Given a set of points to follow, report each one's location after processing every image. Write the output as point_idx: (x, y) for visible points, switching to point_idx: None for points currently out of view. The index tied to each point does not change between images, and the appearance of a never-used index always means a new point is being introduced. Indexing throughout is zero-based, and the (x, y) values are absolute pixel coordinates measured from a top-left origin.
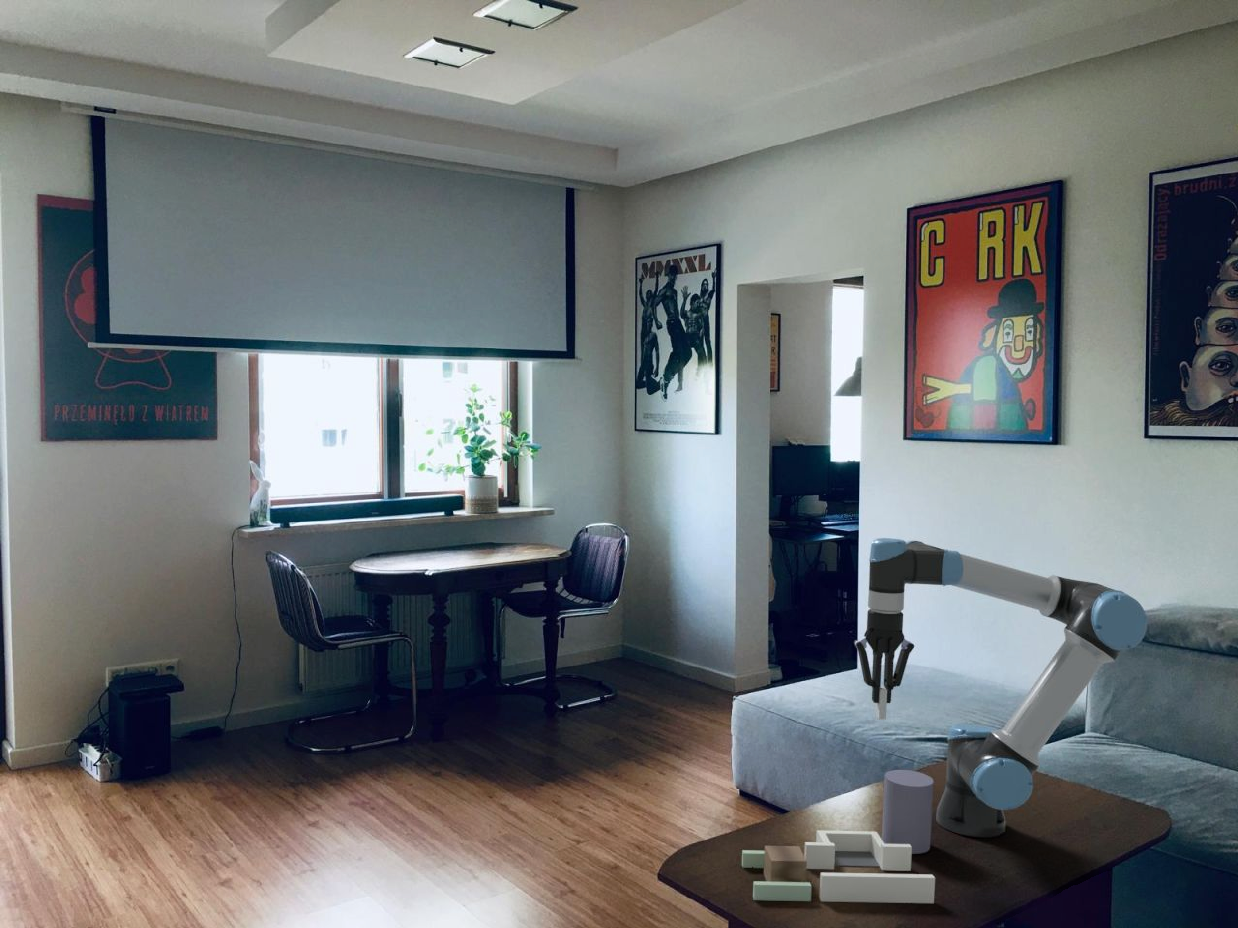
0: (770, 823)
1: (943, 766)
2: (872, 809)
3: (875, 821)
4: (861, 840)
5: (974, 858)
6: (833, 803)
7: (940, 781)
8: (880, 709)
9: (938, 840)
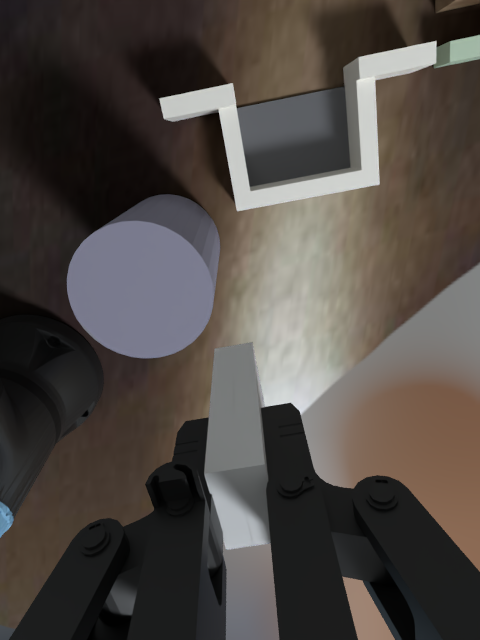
0: (441, 290)
1: None
2: None
3: (223, 346)
4: (271, 185)
5: (29, 208)
6: None
7: None
8: (248, 371)
9: None
